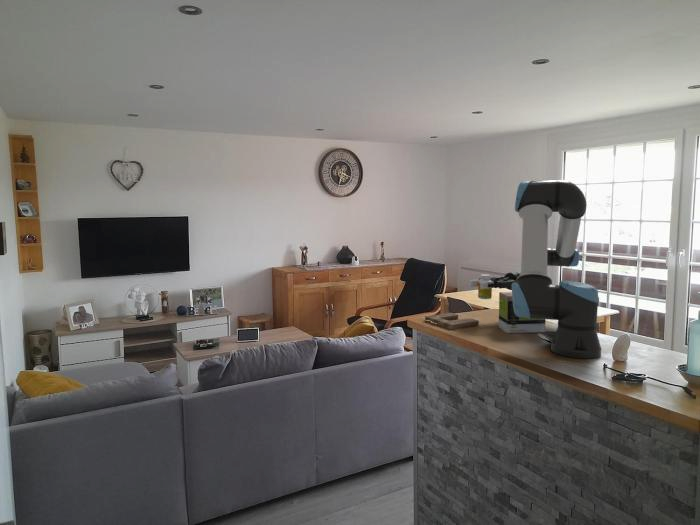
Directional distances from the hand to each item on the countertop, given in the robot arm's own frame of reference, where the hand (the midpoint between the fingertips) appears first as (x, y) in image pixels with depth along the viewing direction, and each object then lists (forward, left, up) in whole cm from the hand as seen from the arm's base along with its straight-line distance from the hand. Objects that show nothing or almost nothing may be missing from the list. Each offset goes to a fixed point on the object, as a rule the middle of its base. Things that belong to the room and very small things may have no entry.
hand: (475, 284), depth 199 cm
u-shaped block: (+6, +7, -17) cm, 19 cm away
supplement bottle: (0, -5, -6) cm, 8 cm away
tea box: (-16, -9, -17) cm, 25 cm away
